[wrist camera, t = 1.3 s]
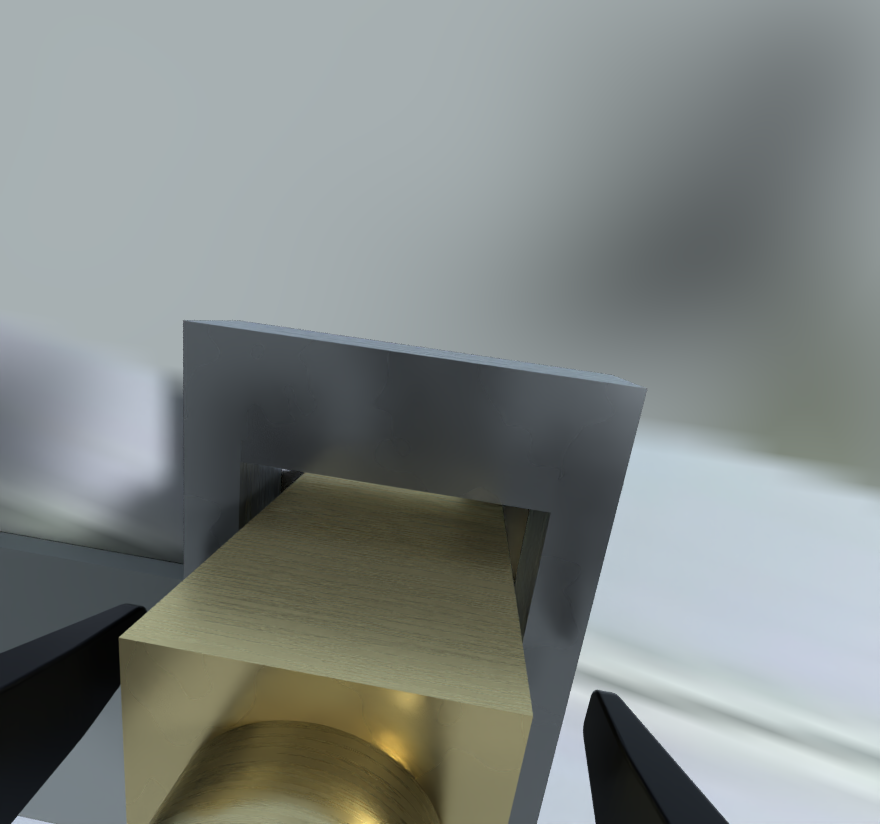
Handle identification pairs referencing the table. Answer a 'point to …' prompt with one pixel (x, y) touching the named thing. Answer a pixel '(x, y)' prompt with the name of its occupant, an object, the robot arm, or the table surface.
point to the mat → (54, 607)
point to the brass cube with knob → (333, 668)
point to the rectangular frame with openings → (420, 464)
